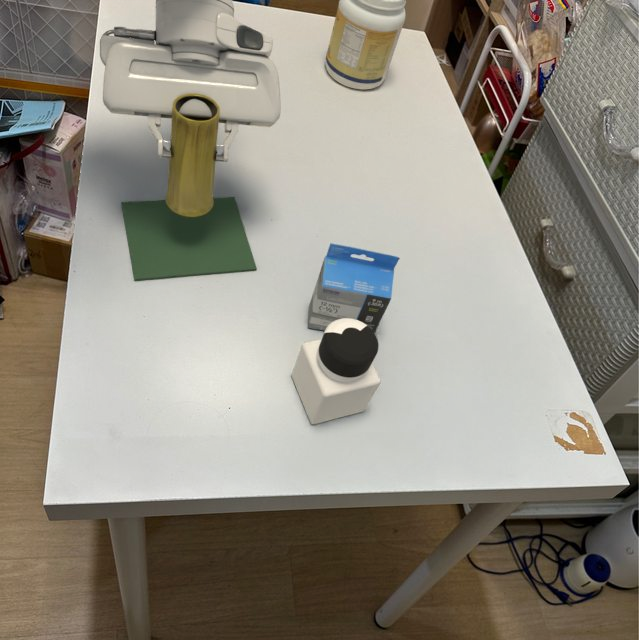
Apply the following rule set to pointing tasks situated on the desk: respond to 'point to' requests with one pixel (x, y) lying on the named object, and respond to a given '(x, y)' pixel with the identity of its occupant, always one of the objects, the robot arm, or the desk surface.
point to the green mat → (185, 240)
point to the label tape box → (352, 287)
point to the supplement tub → (364, 41)
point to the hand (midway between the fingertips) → (193, 159)
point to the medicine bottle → (337, 371)
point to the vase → (192, 159)
